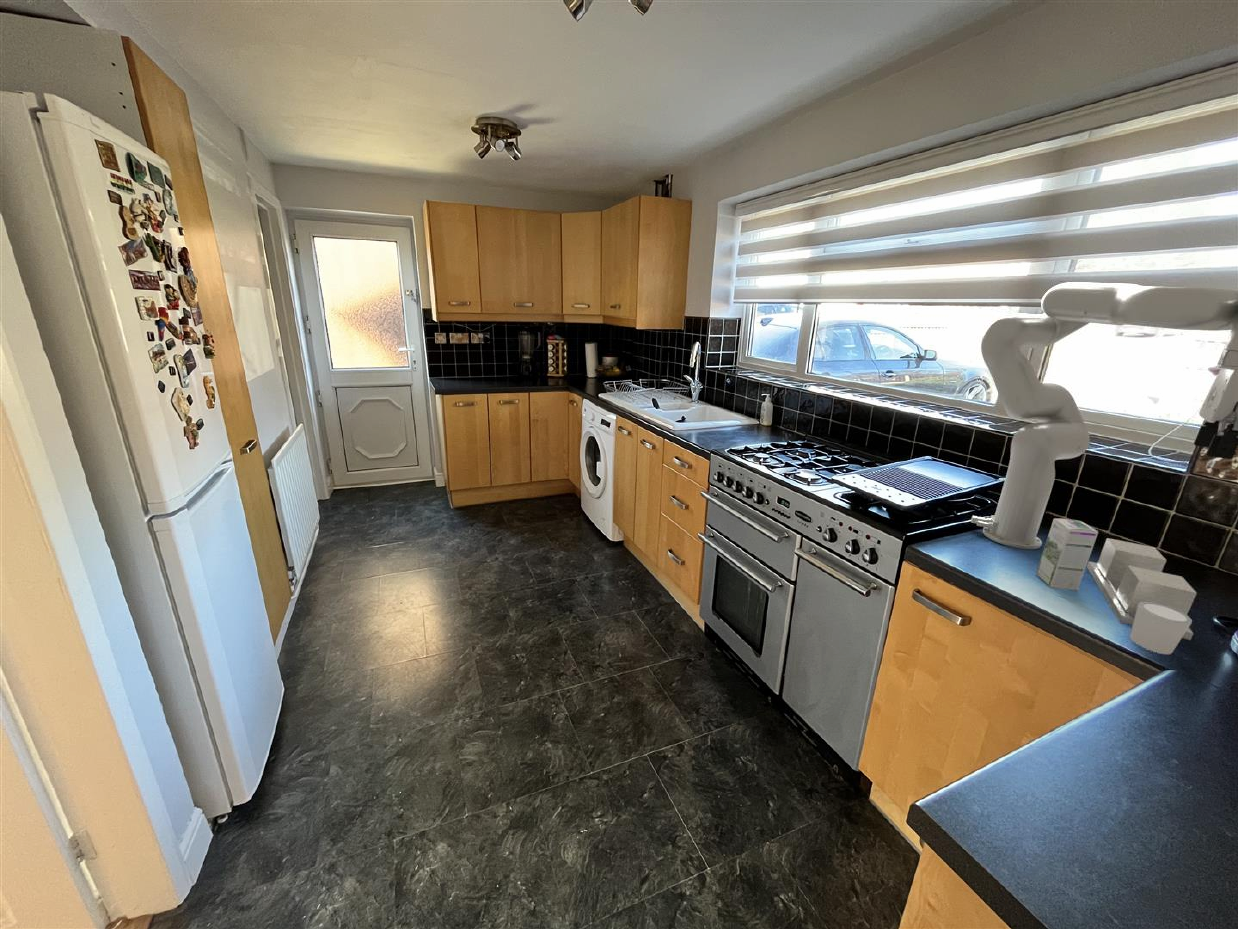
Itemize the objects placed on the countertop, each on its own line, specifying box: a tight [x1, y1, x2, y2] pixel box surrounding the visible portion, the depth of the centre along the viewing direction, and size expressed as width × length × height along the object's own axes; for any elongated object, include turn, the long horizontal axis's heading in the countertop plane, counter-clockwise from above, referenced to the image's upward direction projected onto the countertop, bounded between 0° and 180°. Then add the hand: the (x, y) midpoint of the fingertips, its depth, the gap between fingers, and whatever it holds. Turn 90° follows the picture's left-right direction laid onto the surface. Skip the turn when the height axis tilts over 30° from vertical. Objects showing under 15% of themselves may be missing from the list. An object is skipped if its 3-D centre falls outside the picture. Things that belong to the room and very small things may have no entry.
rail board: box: [1086, 537, 1197, 641], centre depth 106 cm, size 10×26×9 cm, turn 149°
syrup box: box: [1035, 517, 1099, 592], centre depth 110 cm, size 6×6×14 cm
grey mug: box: [1129, 602, 1193, 655], centre depth 91 cm, size 7×7×7 cm
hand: (1211, 451), depth 97 cm, fingers open, 9 cm apart
